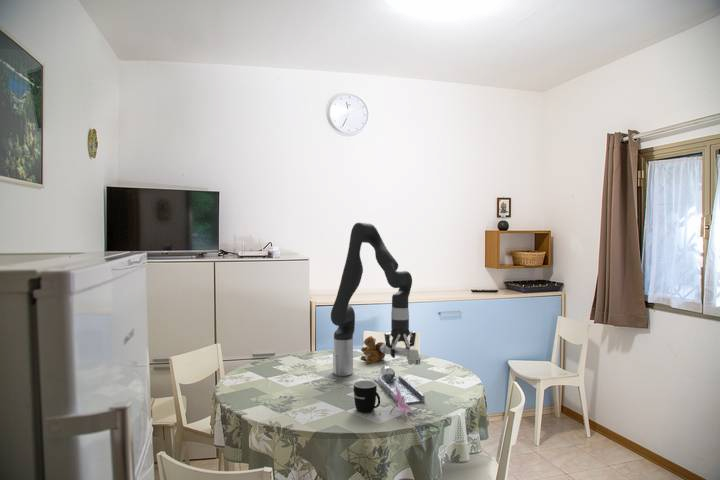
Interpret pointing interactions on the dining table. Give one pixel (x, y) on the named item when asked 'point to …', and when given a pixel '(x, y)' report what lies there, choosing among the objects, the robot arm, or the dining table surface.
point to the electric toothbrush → (403, 353)
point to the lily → (401, 402)
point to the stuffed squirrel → (372, 351)
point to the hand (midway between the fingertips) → (400, 356)
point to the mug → (365, 396)
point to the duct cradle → (399, 386)
